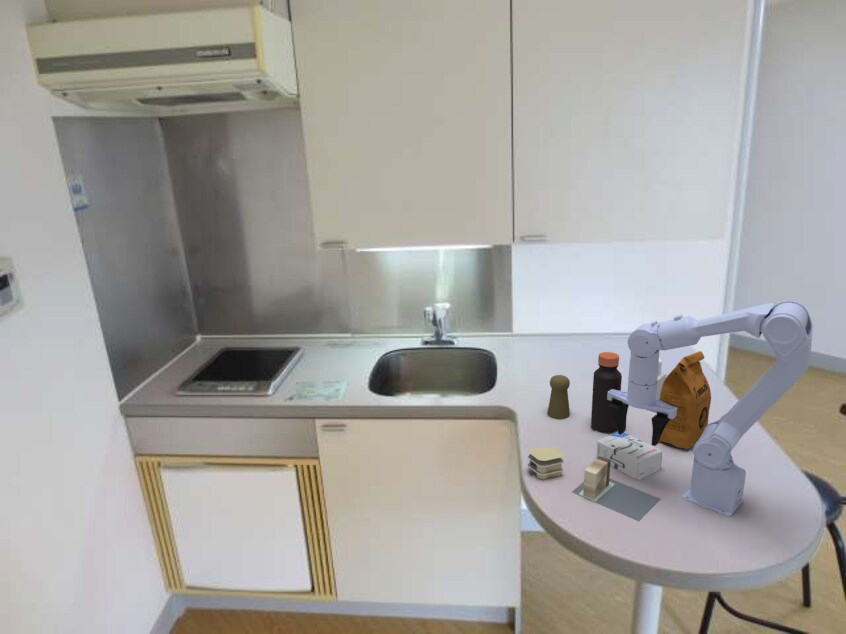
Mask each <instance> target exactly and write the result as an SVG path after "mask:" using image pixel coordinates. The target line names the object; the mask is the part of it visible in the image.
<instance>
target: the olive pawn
mask: <svg viewBox="0 0 846 634" xmlns="http://www.w3.org/2000/svg"><path fill="white" fill-rule="evenodd" d="M570 385H571V382H570V379H569V377H567V376H565V375H562V374H555V375H553V376H551V378H550V381H549V386H550V387H551V391H550V396H549V400H548V402H549V403H548V407H547V413H546V414H547V416H548V417H550V418H551V419H555V420H566V419H568V418H570V416H571V412H570V401H569V393H568V389H569V388H570Z"/></svg>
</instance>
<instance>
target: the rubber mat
mask: <svg viewBox="0 0 846 634" xmlns="http://www.w3.org/2000/svg"><path fill="white" fill-rule="evenodd" d="M583 492H584V481H583V482H581V484H579V485H578V486H577V487H575V488H574V489H573V490H572V491H571V493H573V494H575V495H577V496H580V497H582V498H584V499H586V500H589V501H592V502H593V503H596V504H598V505H601V506H603V507H605V508H607V509H609V510H612V511H614V512H616V513H619V514H621V515H623V516H625V517H628V518H630V519H633V520H634V521H637V522H640V521H641V520H642V519H643V518H644V517H645V516H646V515H647V514H648V513H649V512H650V511H651V510H652V509H653V508H654V507H655V506H656V505H657V503H659V501H661V498H660V497H657V496H655V495H652V494H650V493H647V492H645V491H642V490H639V489H637V488H636V487H633V486H629V485H628V484H625V483H622V482H620V481H617V480H614V479H612V478H611V477H610V478H609V485H608V486H607V487H606V488H605V489H604V490H603V491H602V492H601V493H600V494H599V495H598V496H597V497H596V498H595V499H592V498H589V497H587V496H584V495H583Z"/></svg>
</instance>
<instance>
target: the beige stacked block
mask: <svg viewBox="0 0 846 634" xmlns="http://www.w3.org/2000/svg"><path fill="white" fill-rule="evenodd" d="M527 452H528V453H529V454H528V456H527V459H529V462H528V464H527V467H528V468H530V469H531V470H532V471H533V472H534V473H536V478H537V479H539V478H540V479H539V480H547V479H548V478H551V477H559V476H562V472H564V468H563V466H562V465H563V464H564V460H563V459H562V458H564V457H565V455H563V453H562V452H561V450H559V448H558V447H540V446H539V447H536V446H535V447H530V448H529V449H528V451H527ZM546 478H547V479H546Z"/></svg>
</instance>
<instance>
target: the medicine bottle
mask: <svg viewBox="0 0 846 634" xmlns="http://www.w3.org/2000/svg"><path fill="white" fill-rule="evenodd" d="M662 363H663V361H662V358H660V357H659V368H658V379H657V391H656V399H658V400H660V394H661V389H662V386H663V382H664V380H665V379H666V377H667V372H664V371H662Z"/></svg>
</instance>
